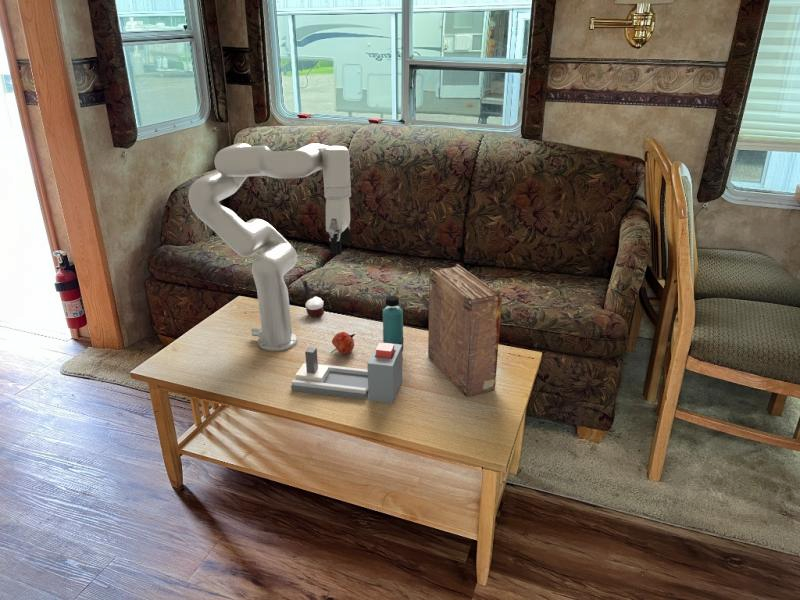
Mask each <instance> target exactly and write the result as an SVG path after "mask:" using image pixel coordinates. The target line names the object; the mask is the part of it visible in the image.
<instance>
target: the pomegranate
mask: <svg viewBox="0 0 800 600" xmlns="http://www.w3.org/2000/svg"><path fill="white" fill-rule="evenodd" d="M354 336H356V333H352V334H349V333H348V332H346V331H341V332H338V333H336V334H335V335H334V336H333V338H332V340H331V343H332V345H333V346H334V347H335V349H334V350H332V351H331V352H330V354H332V353H333V352H335V351H338V352H339V353H341V355H343V356H344V355H345V356H346V355H349V354H350V353H351V352H352V351H353V350H354V348H355V340H354V338H353V337H354Z"/></svg>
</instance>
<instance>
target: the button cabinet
mask: <svg viewBox="0 0 800 600" xmlns="http://www.w3.org/2000/svg"><path fill="white" fill-rule="evenodd" d="M379 343H382V342H379V341H378V342H377V344H376V347H375V348H374V350H373V352H372V354H371V356H370V358H369V359H368V362H367V370H368V401H371V402H373V401H374V402H379V403H389V404H394V402H395V399H396V397H397V395H398V393H399V390H400V387H401V385H402V382H403V352H402V345H400V344H394V356H393V358H392V359H386V358H377V357H376V349H377V347H378V345H379ZM390 344H391V343H390Z"/></svg>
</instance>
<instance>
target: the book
mask: <svg viewBox="0 0 800 600" xmlns="http://www.w3.org/2000/svg"><path fill="white" fill-rule="evenodd" d="M428 275H429V279H428V280H429V283H428V284H429V286H428V297H429V298H428V332H427V333H428V339H427V340H428V342H427V343H428V345H427V349H428V350H427V356H428V358H429V359H430V360H431V361H432V362H433V363H434V364H435V366H437V368H439V370H440V371H441V372H442V373H443V374H445V376H446V377H447V378H448V379H449V380H450V381H451V382H452V383H453V384H454V385H455V386H456V387H457V389H459V391H461V392H462V394H464V396H466V397H467V398H468V397H471V396H475V395H479V394H483V393H486V392H487V393H488V392H490V391H495V389H496V381H497V368H498V367H497V366H498V356H499V344H500V343H499V342H500V327H501V317H502V316H501V315H502V303H503V296H502V294H500V293H499V292H497V291H496V290H495V289H493V288H492V287H491V286H489V285H488V284H487V283H485V282H483V281H482V280H480V279H479V278H478V277H477V276H476V275H474V274H472V273H471V272H469V270H467V269H466V268H464V267H462V266H461V265H460V264H458V263H456V264H455V266H453V267H452V266H451V267H447V268H441V269H436V270H434V268H429V274H428ZM466 397H465V398H466Z"/></svg>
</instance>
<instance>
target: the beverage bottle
mask: <svg viewBox="0 0 800 600" xmlns="http://www.w3.org/2000/svg"><path fill="white" fill-rule="evenodd" d="M399 298H400V297H398V296H397V295H388V296H386V297H385V307H384V308H383V309H382V343H391V344H400V345H402V353H403V351H404V348H405V347H404V338H405V337H404V319H403V318H404V316H403V315H404V311H403V309H402V308H401V306H399V305H400V301H399V300H400V299H399Z"/></svg>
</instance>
